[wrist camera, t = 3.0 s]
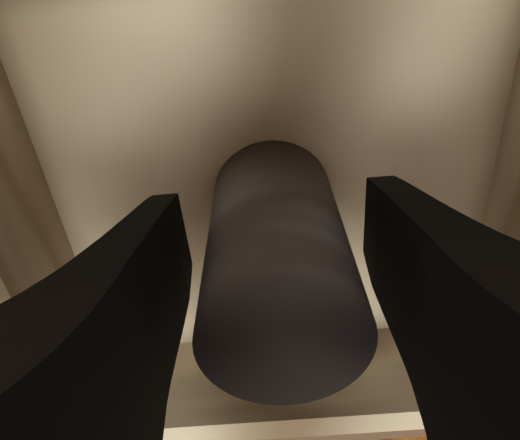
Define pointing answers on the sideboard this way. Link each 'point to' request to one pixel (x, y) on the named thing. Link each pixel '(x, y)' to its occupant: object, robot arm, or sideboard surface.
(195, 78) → the beige shallow open box
